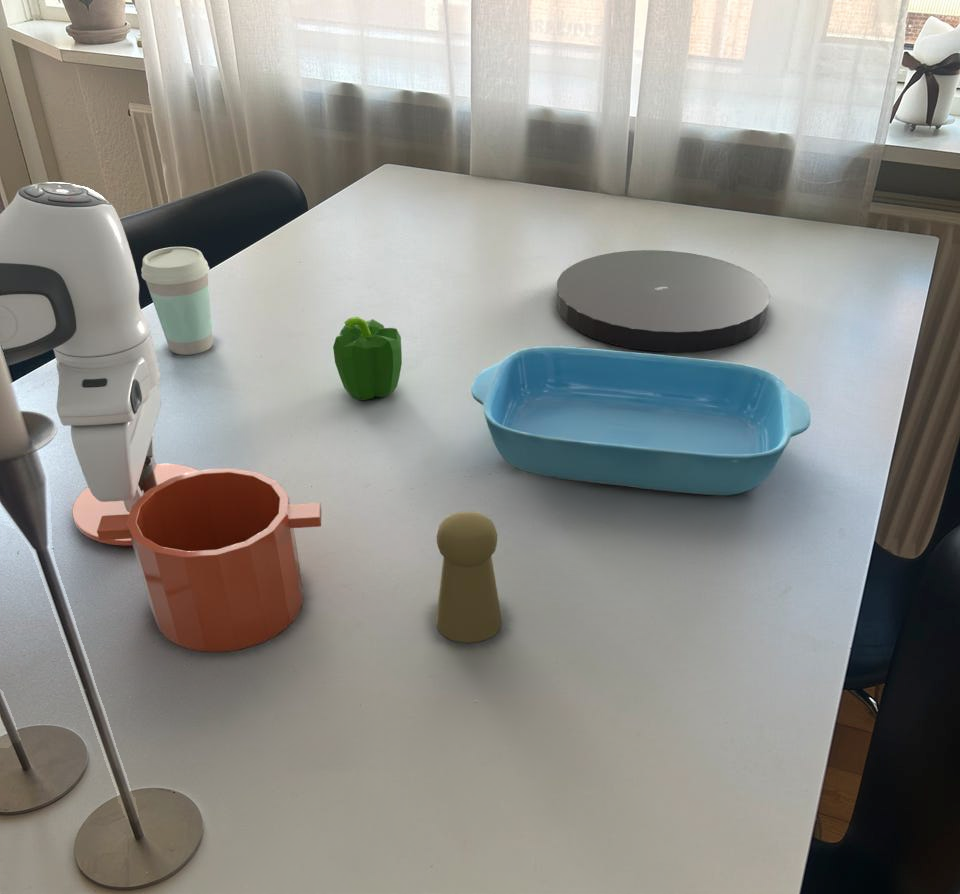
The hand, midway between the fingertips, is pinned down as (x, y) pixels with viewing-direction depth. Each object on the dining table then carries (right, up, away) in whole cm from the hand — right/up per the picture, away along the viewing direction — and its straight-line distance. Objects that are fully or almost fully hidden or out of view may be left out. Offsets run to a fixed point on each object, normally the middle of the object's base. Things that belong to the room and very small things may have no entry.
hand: (142, 489), depth 104 cm
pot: (+12, -12, -10) cm, 20 cm away
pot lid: (0, -1, +1) cm, 2 cm away
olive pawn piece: (+34, -14, -12) cm, 39 cm away
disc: (+61, +32, +40) cm, 80 cm away
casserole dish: (+52, +6, +10) cm, 54 cm away
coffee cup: (-4, +24, +32) cm, 40 cm away
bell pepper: (+21, +15, +22) cm, 34 cm away
